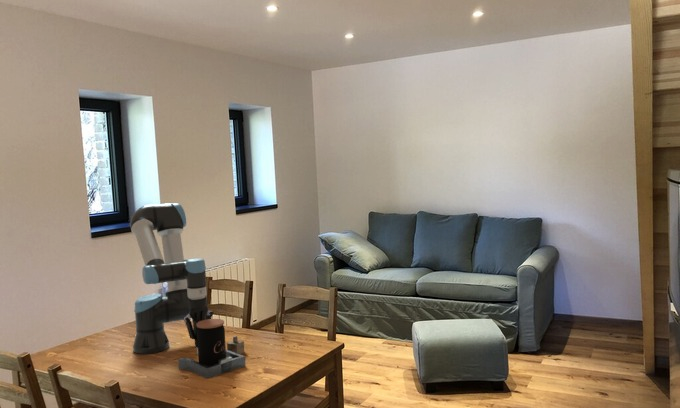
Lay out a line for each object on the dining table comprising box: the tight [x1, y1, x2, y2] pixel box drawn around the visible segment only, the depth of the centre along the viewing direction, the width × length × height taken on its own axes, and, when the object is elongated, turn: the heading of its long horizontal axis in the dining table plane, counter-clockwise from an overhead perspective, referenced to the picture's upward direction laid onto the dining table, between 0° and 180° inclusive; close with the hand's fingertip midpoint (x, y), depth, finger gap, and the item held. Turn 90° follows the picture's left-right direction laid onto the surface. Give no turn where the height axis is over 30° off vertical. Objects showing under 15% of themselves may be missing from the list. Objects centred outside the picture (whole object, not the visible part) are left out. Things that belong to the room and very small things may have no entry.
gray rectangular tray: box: [177, 349, 246, 380], centre depth 223 cm, size 19×21×5 cm
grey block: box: [226, 335, 245, 355], centre depth 238 cm, size 5×5×7 cm
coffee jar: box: [196, 318, 227, 366], centre depth 223 cm, size 11×11×18 cm
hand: (200, 354), depth 230 cm, fingers closed
